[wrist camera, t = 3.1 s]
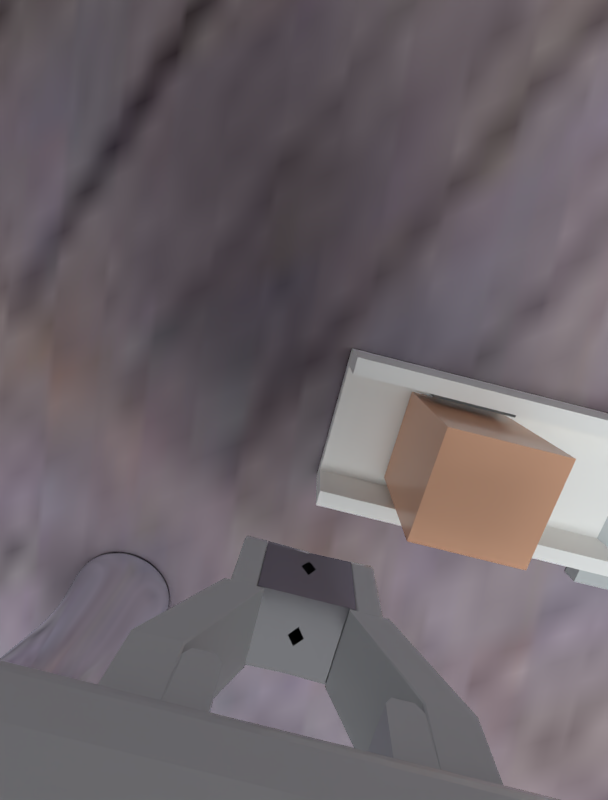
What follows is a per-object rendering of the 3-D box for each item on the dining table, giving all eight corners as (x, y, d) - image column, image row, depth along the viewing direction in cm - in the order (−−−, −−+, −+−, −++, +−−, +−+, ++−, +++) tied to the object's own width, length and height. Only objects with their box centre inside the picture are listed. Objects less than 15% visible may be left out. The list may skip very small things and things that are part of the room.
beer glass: (52, 560, 25) (-313, 912, 11) (151, 533, 24) (-98, 871, 10) (98, 647, 27) (-167, 1058, 12) (193, 623, 26) (30, 1033, 11)
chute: (352, 348, 21) (357, 357, 18) (637, 420, 22) (696, 442, 18) (316, 475, 23) (315, 505, 20) (579, 540, 23) (623, 580, 20)
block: (411, 391, 21) (447, 426, 15) (504, 414, 21) (576, 458, 15) (384, 477, 22) (406, 541, 16) (471, 499, 22) (526, 570, 16)
